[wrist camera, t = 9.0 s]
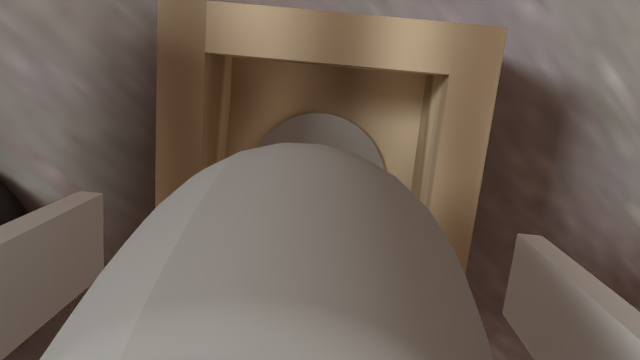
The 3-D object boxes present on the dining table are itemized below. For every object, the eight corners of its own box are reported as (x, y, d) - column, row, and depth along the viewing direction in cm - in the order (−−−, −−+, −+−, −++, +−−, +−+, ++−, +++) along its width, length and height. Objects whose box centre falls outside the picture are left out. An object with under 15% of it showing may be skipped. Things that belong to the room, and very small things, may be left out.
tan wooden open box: (197, 256, 28) (153, 313, 22) (206, 17, 25) (157, -4, 19) (425, 279, 28) (453, 343, 21) (461, 40, 25) (507, 27, 18)
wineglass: (275, 263, 26) (56, 931, 6) (227, 135, 25) (-306, 392, 4) (404, 223, 25) (706, 819, 5) (362, 88, 24) (536, 123, 3)
